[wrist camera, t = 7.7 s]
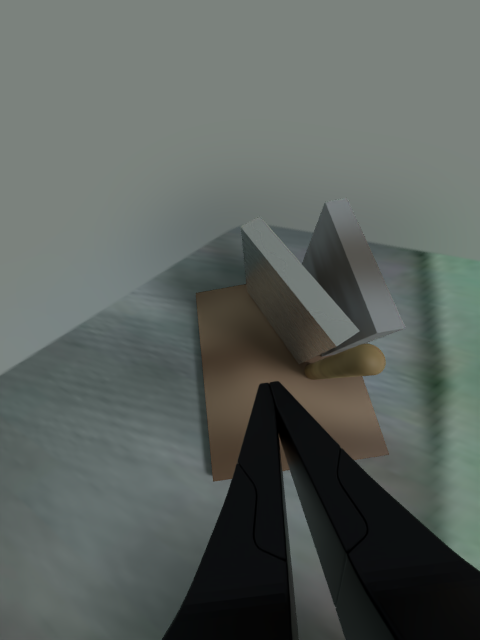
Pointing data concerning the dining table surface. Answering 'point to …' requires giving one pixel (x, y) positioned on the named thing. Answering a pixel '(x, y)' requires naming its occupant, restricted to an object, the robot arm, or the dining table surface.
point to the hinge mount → (279, 364)
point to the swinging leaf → (291, 295)
